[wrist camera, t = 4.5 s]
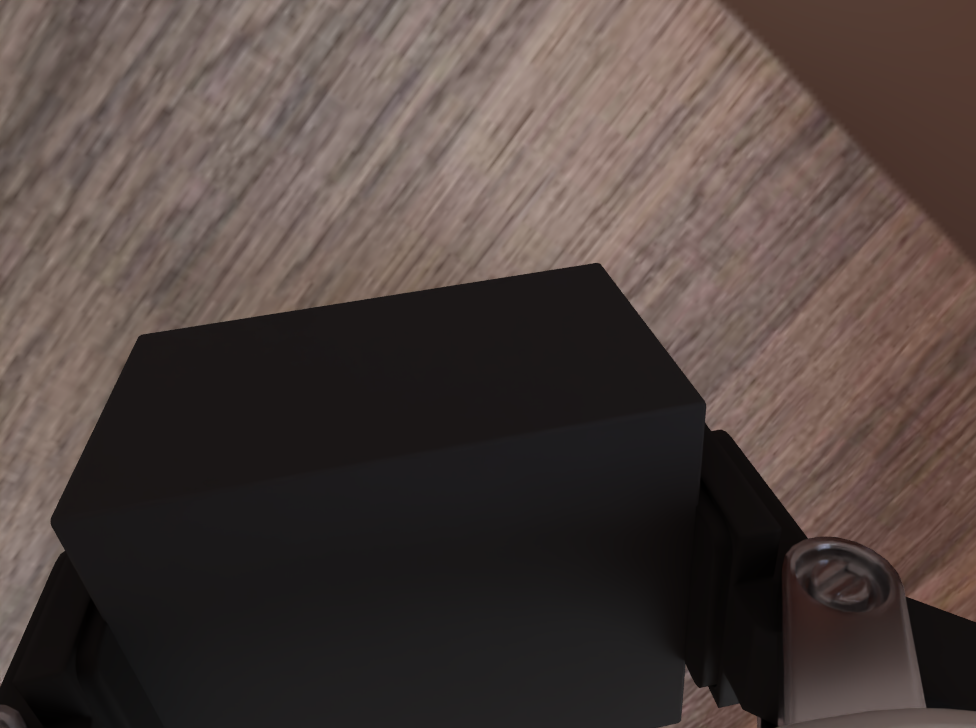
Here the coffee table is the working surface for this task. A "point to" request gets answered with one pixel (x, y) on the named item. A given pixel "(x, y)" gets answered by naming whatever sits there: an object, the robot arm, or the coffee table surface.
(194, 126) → the coffee table surface
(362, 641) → the pad
